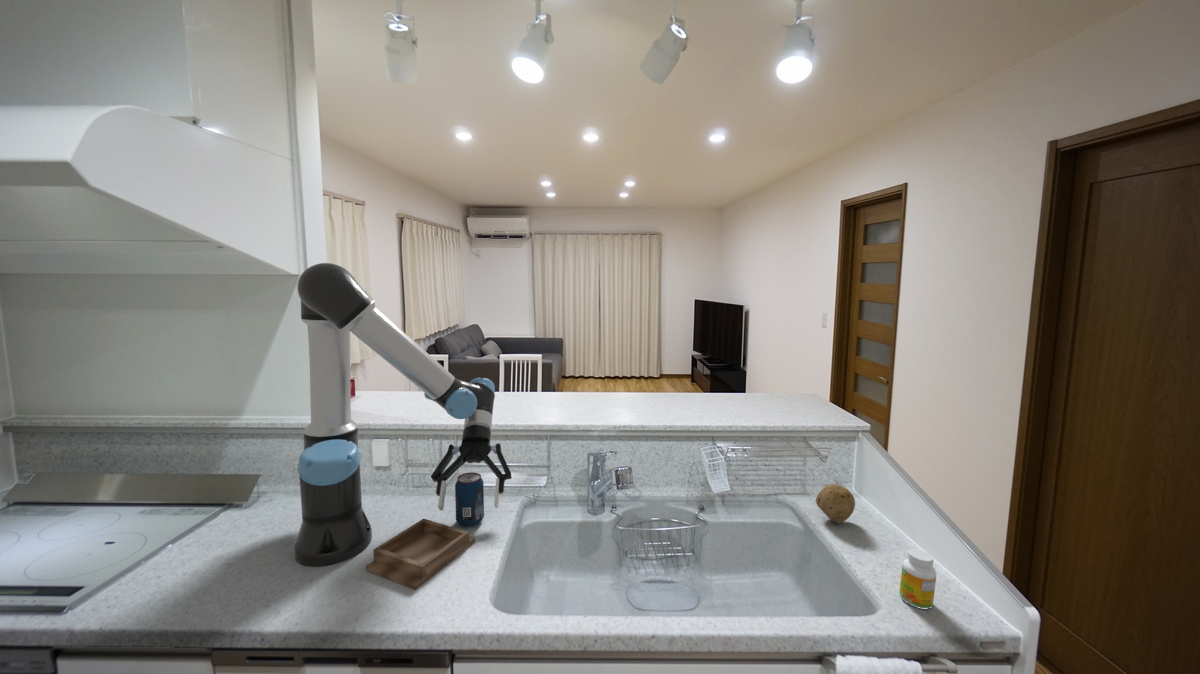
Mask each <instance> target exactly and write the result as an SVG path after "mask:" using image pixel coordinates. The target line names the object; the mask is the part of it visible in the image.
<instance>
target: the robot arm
mask: <svg viewBox="0 0 1200 674" xmlns="http://www.w3.org/2000/svg"><path fill="white" fill-rule="evenodd" d="M296 286H297V294H298V296H299V299H300V319H301V321H302V323H303V324H305V325H306V326H307V327H308V338H309V339H308V341H309V342H308V345H309V346H308V347H309V391H310V393H309V394H310V395H309V396H310V402H309V403H310V404H309V405H310V423H309V424H308V426H306V427H305V428H304V429H303V451H302V452H301V454H300V455H299V458H298V464H297V472H298V475H299V487H300V488H299V489H300V502H301V504H300V505H301V517H302V520H301V525H300V528H299V531H298V535H297V539H296V541H295V544H294V558H295V560H296V562H297V563H299V564H300V565H304V566H307V567H308V566H309V567H321V566H328V565H333V564H336V563H337V564H338V563H341V562H343V561H345V560H348V559H351V558H352V557H354V556H356V555H357V554H359V553H361V552H362V551H364V550H365V549H366V548H367V547H368V546H369V544H370V543H371V541H372V538H373V536H372V535H373V533H372V531H373V530H372V525H371V524H370V521H369V519H368V517H367V515H366V514H365V511H364V509H363V503H362V483H361V479H362V478H361V464H360V463H361V454H360V451H359V431H358V429H359V428H358V427H359V426H358V423H356V422H355V421H354V420H352V413H351V412H352V409H351V406H352V405H351V404H352V401H351V400H352V398H351V393H352V392H351V388H352V387H351V333H352V335H354V336H355V337H356V338H357V339H359V340H360V341H361V342H362V343H364V344H365V345H366V346H368V347H369V348H370V349H371V350H372V351H374V353H376V354H377V355H378V356H379V357H381V358H382V359H383V360H384V361H386V362H387V363H388V364H389V365H390V366H392V367H393V368H394V369H396V370H397V371H398V372H399V373H400V374H401V375H403V376H404V377H405V378H406V379H407V380H409V381H410V382H411V383H412V384H413V385H415V386H416V387H417V388H419V389H420V390H421V391H422V392H423V393H424V395H423V396H424V397H425V399H427V400H429V401H433V402H435V403H436V404H438V405H439V406H440V407H441V408H443V410H445V412H446V413H447V414H448V415H449V416H451V417H452V418H453V419H457V420H464V423H463V430H462V436H461V444H460V446H454V444H449V446H448V449H447V452H446V453H445V454H444V456H443V458H442V459H441V460H440V461H439V463H438V465H437V467H436V468H435V469H434V471H433V472H432V474H431V476H430V478H431V479H432V482H434V483H437V484H436V490H435V493H436V495H437V497H439V498H438V504H437V508H438V509H439V511H444V508H445V507H444V506H445V501H446V500H445V498H446V493H447V486H448V485H447V484H448V483H447V481H448V479H450V477H452V475H453V474H455V473H456V471H458V469H459V468H460V467H462V466H463V465H465V463H467V464H473V463H475V464H476V463H477V464H478V463H479V464H481V462H484V464H485V465H487V467H488V468H489V469H490V471H491V472H492V473H493V474H494V475H495V477H496V478H495V488H494V489H495V491H494V502H493V505H494V508H495V509H499V504H500V503H499V501H500V494H502V495H503V493H505V492H504V491H505V482H506V481H507V480H511V479H512V472H511V469H510V468H509V466H508V463H507V461H506V459H505V457H504V455H503V453H502V446H501V443H500V442H499V443H496V444H495V445H491V438H492V437H491V435H492V427H491V426H492V425H493V423H492V422H493V412H494V403H495V398H496V395H495V394H496V393H495V391H496V388H495V383H494V382H493V381H492V380H491V379H489V378H485V377H483V378H482V377H477V378H473V379H471V380H470V381H464V380H461V379H459V378H456V377H455V376H454V375H453V374H452V373H451V372H450V371H448V370H447V369H446V368H445V367H444V366H443V365H442V364H441V363H440V362H438V361H437V360H436V359H435V358H434V357H433V356H431V355H430V354H429V353H428V352H427V351H426V350H425V349H424V348H422V347H421V346H420V345H419V344H418V343H417V342H416V341H415V340H413V339H412V337H410V336H409V335H408V334H406V333H405V332H404V331H403V330H402V329H401V328H400V327H399V326H397V325H396V324H395V323H394V322H393V321H392V320H391V319H390V318H389V317H387V315H385V314H384V313H383V312H381V310H380V309H378V308H377V307H376V300H375V299H374V298H373V297H372V296H371V295H369V294H368V293H367V292H366V290H364V289H363V287H362V286H361V285H360V284H359V283H358V282H357V280H356V279H355V277H354V275H352V273H350V271H349V270H347V269H346V268H345V267H342V266H340V265H339V264H336V263H335V264H334V263H330V262H329V263H328V262H321V263H317V264H314V265H311V266H309V267H308V268H306V269H305V270H304V271H303V272H302V273H301V275H300V276H299V278H298V281H297V285H296ZM491 452H493V454H495V455H496V456H497V459H498V461H499V463H500V465H501V467H502V470H503V471H504V472H503V473H502V471H501V470H500V469H499V468H498V467H497V465H496V464H495V463H494V462H493V460H492V459H491V458H490V457H489V454H490V453H491ZM457 453H460V454H459V455H458V456H457V458H456V460H454V461H453V462H452V463H451V464H450V462H451V461H452V459H453V458H454V456H455V455H457ZM449 464H450V465H449ZM448 465H449V466H448Z"/></svg>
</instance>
